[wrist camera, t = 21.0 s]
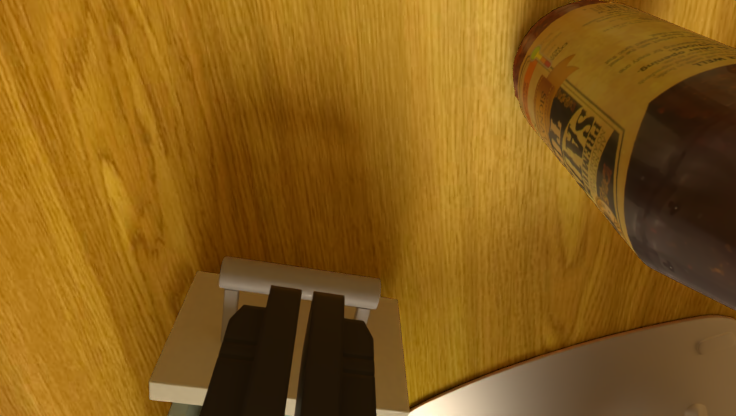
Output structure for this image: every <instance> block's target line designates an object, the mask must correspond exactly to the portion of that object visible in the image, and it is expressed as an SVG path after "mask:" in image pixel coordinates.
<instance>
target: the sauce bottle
mask: <svg viewBox="0 0 736 416" xmlns="http://www.w3.org/2000/svg"><path fill="white" fill-rule="evenodd" d="M513 82H514V88H515V96H516V97H517V99H518V101H519V104H520V108H521V110H522V112H523V114H524V116H525V118H526V120H527V121H528V123H529V124H530V125H531V126H532V128H533V129H534V130H535V131H536V132H537V134H538V135H539V136H540V137H541V139H542V140H543V141H544V142H545V143H546V145H547V146H548V147H549V148H550V149H551V151H552V152H553V153H554V154H555V156H556V157H557V158H558V159H559V161H560V162H561V163H562V165H563V166H564V167H565V168H566V169H567V170H568V171H569V173H570V174H571V175H572V177H573V178H574V179H575V180H576V182H577V183H578V184H579V185H580V187H581V188H582V189H583V190H584V191H585V193H586V194H587V195H588V197H589V198H590V199H591V200H592V201H593V202H594V203H595V205H596V206H597V207H598V208H599V210H600V211H601V212H602V213H603V214H604V216H605V217H606V218H607V219H608V220H609V222H610V223H611V224H612V226H613V227H614V228H615V229H616V231H617V232H618V233H619V234H620V235H621V237H622V238H623V239H624V240H625V241H626V243H627V244H628V245H629V246H630V247H631V249H632V250H633V251H634V252H635V254H636V255H637V256H638V257H639V258H640V259H641V260H642V261H643V262H644V263H645V264H646V265H647V266H649V267H650V268H652V269H654V270H656V271H658V272H660V273H662V274H664V275H666V276H668V277H670V278H672V279H674V280H676V281H677V282H679V283H681V284H683V285H685V286H687V287H689V288H691V289H693V290H695V291H697V292H700V293H702V294H704V295H706V296H708V297H710V298H712V299H714V300H716V301H718V302H720V303H722V304H724V305H726V306H728V307H730V308H732V309H734V310H736V49H735V48H732V47H730V46H727V45H725V44H722V43H720V42H717V41H715V40H712V39H710V38H707V37H705V36H702V35H700V34H697V33H695V32H692V31H690V30H687V29H685V28H682V27H680V26H677V25H675V24H672V23H670V22H667V21H665V20H662V19H660V18H657V17H655V16H652V15H650V14H647V13H645V12H642V11H640V10H637V9H635V8H632V7H630V6H627V5H624V4H621V3H614V2H611V3H606V2H603V1H600V0H581V1H578V2H574V3H569V4H567V5H565V6H562V7H559V8H557V9H556V10H553V11H551V12H550V13H549V14H548V15H546V16H544V17H542V18H541V19H540V20H539V21H538V22H537V23H536V24H535V25H534V26H533V27H532V28H531V29H530V31H529V32H528V34H527V35H526V36H525V37H524V39H523V40H522V42H521V46H520V47H519V49H518V52H517V54H516V56H515V60H514V65H513Z"/></svg>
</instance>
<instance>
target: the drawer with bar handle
mask: <svg viewBox="0 0 736 416" xmlns="http://www.w3.org/2000/svg"><path fill="white" fill-rule="evenodd" d="M271 285H274V286H281V287H288V288H295V289H302V295H301V303H300V310H299V317H298V324H297V331H296V338H295V345H294V352H293V359H292V366H291V373H290V380H289V387H288V394H287V402H286V409H285V415H289V416H294V413H295V405H296V397H297V389H298V380H299V372H300V364H301V357H302V351H303V344H304V339H305V333H306V328H307V322H308V317H309V312H310V306H311V301H312V296H313V292H314V291H317V292H324V293H331V294H338V295H344V297H345V306H344V318H347V319H354V320H361V321H364V322H365V324H366V326H367V328H368V329H369V331H370V333H371V335H372V337H373V340H374V365H375V374H374V377H375V389H376V414H377V416H408V415H409V412H410V410H409V401H408V391H407V382H406V373H405V363H404V354H403V345H402V335H401V326H400V317H399V307H398V300H397V299H391V298H384V297H380V293H381V281H380V279H378V278H372V277H365V276H358V275H351V274H344V273H338V272H331V271H324V270H317V269H310V268H304V267H297V266H290V265H283V264H276V263H270V262H263V261H256V260H249V259H242V258H236V257H229V256H226V257H224V259H223V262H222V265H221V269H220V274H216V273H209V272H202V271H197V273H196V275H195V278H194V280H193V282H192V284H191V287H190V289H189V291H188V293H187V296H186V298H185V300H184V303H183V305H182V307H181V309H180V312H179V314H178V316H177V319H176V321H175V323H174V325H173V328H172V330H171V332H170V334H169V337H168V339H167V341H166V344H165V346H164V348H163V350H162V353H161V355H160V357H159V359H158V362H157V364H156V366H155V369H154V371H153V373H152V375H151V378H150V380H149V399H150V400H157V401H166V402H172V405H171V408H170V411H169V413H168V416H199V415H200V412H201V409H202V406H203V403H204V399H205V396H206V393H207V390H208V387H209V383H210V380H211V377H212V374H213V370H214V367H215V364H216V361H217V357H218V355H219V351H220V348H221V345H222V342H223V338H224V335H225V332H226V328H227V325H228V322H229V319H230V318H231V317H232V316H233V315H234V314H235V313H236V312H237V311H238V310H239V309H240V308H241V307H242V306H243V305H251V306H258V307H265V308H266V305H267V300H268V296H269V292H270V287H271Z"/></svg>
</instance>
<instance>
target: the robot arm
mask: <svg viewBox="0 0 736 416" xmlns="http://www.w3.org/2000/svg"><path fill="white" fill-rule="evenodd" d="M301 295H302V289H295V288H288V287H281V286H274V285H271V287H270V292H269V296H268V300H267V305H266V308H265V307H258V306H251V305H243V306H242V307H241V308H240V309H239V310H238V311H237V312H236V313H235V314H234V315H233V316H232V317H231V318H230V319H229V322H228V325H227V328H226V332H225V335H224V338H223V342H222V345H221V348H220V351H219V355H218V357H217V361H216V364H215V367H214V370H213V374H212V377H211V380H210V383H209V387H208V390H207V393H206V396H205V399H204V403H203V406H202V409H201V412H200V415H199V416H285V409H286V402H287V394H288V387H289V380H290V373H291V366H292V359H293V352H294V345H295V338H296V331H297V324H298V317H299V310H300V303H301ZM344 306H345V297H344V295H338V294H331V293H324V292H317V291H314V292H313V296H312V301H311V306H310V312H309V317H308V322H307V328H306V333H305V339H304V344H303V351H302V357H301V364H300V372H299V380H298V389H297V397H296V405H295V413H294V416H377V414H376V389H375V377H374V374H375V365H374V340H373V337H372V335H371V333H370V331H369V329H368V328H367V326H366V324H365V322H364V321H361V320H354V319H347V318H344Z"/></svg>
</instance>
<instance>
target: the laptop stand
mask: <svg viewBox="0 0 736 416" xmlns="http://www.w3.org/2000/svg"><path fill="white" fill-rule="evenodd" d="M408 416H736V319H734V318H731V317H728V316H721V315H706V316H700V317H693V318H687V319H682V320H677V321H672V322H667V323H662V324H657V325H652V326H648V327H644V328H639V329H635V330H631V331H626V332H622V333H618V334H614V335H610V336H606V337H603V338H599V339H595V340H592V341H588V342H584V343H581V344H577V345H574V346H570V347H567V348H564V349H561V350H557V351H554V352H551V353H547V354H544V355H541V356H538V357H535V358H532V359H529V360H526V361H523V362H520V363H518V364H515V365H512V366H509V367H506V368H503V369H501V370H498V371H495V372H493V373H490V374H487V375H485V376H482V377H480V378H477V379H475V380H472V381H470V382H467V383H465V384H463V385H460V386H458V387H455V388H453V389H451V390H448V391H446V392H444V393H442V394H440V395H437V396H435V397H433V398H431V399H429V400H427V401H425V402H423V403H421V404H419V405H417V406H415V407H413V408H412V409H410V412H409V415H408Z"/></svg>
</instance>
